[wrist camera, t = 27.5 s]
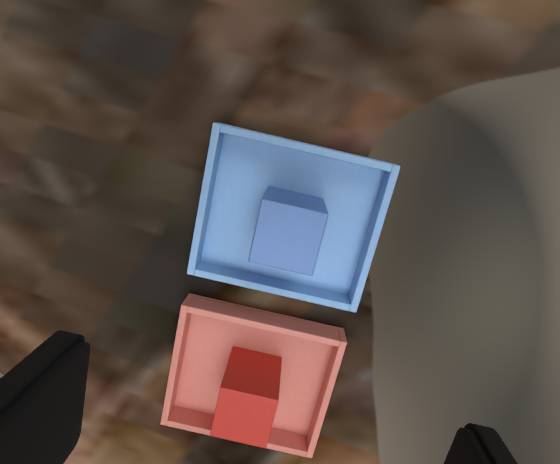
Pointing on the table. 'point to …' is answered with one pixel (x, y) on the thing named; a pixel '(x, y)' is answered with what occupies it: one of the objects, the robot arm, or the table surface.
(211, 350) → the rose tray
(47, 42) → the table surface
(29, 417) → the robot arm
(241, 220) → the blue tray
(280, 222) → the blue block
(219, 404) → the red block
